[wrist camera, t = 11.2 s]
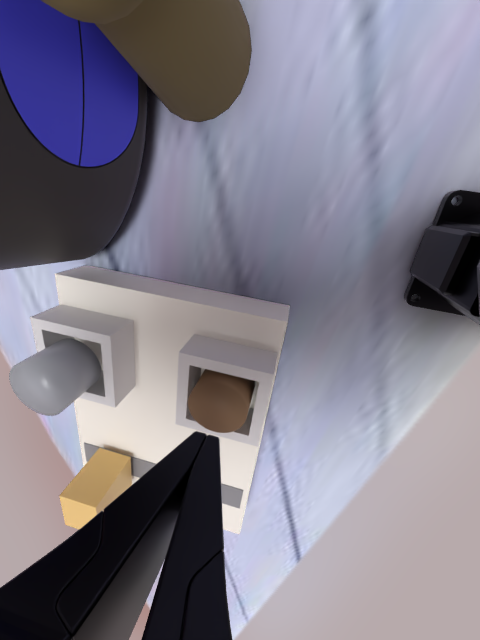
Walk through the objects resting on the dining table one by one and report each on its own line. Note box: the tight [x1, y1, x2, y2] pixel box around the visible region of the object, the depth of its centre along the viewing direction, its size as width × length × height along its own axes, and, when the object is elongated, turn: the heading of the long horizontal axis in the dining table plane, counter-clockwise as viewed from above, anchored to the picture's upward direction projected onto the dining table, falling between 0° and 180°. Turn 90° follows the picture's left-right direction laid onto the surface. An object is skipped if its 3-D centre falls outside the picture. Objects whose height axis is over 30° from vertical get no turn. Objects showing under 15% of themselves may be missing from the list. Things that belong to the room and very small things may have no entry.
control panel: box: [30, 265, 290, 534], centre depth 22 cm, size 16×22×6 cm
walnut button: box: [188, 369, 255, 433], centre depth 17 cm, size 4×4×3 cm
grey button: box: [9, 338, 101, 416], centre depth 17 cm, size 4×4×3 cm
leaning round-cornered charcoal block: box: [0, 0, 147, 270], centre depth 13 cm, size 16×5×9 cm, turn 162°
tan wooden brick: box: [60, 448, 132, 529], centre depth 23 cm, size 3×4×4 cm
